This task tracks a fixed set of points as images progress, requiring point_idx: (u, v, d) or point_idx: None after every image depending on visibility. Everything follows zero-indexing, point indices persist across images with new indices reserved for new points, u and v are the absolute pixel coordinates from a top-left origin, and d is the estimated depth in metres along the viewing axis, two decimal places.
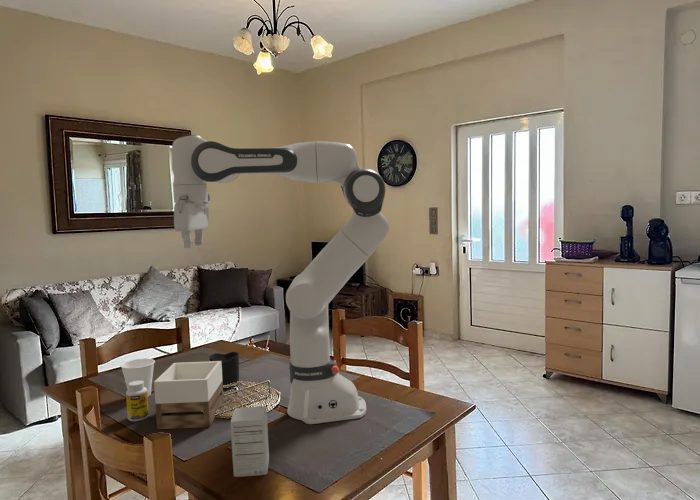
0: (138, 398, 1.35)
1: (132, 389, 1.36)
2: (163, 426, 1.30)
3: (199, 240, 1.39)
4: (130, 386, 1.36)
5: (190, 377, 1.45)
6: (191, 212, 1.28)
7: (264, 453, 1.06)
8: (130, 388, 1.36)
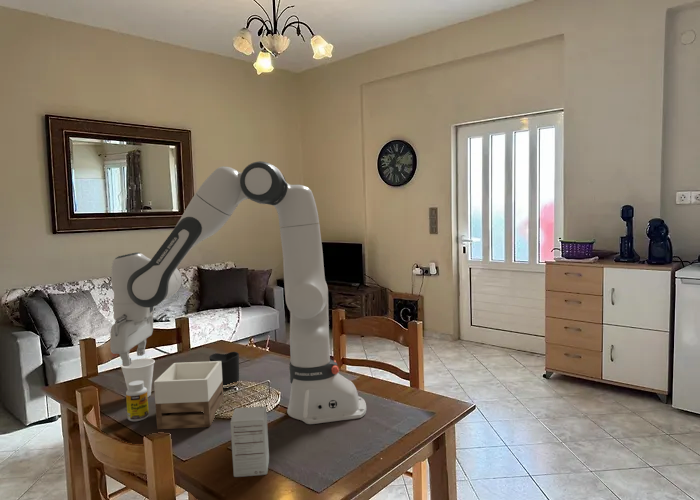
0: (138, 398, 1.35)
1: (132, 389, 1.36)
2: (163, 426, 1.30)
3: (141, 350, 1.41)
4: (130, 386, 1.36)
5: (190, 377, 1.45)
6: (129, 332, 1.30)
7: (264, 453, 1.06)
8: (130, 388, 1.36)
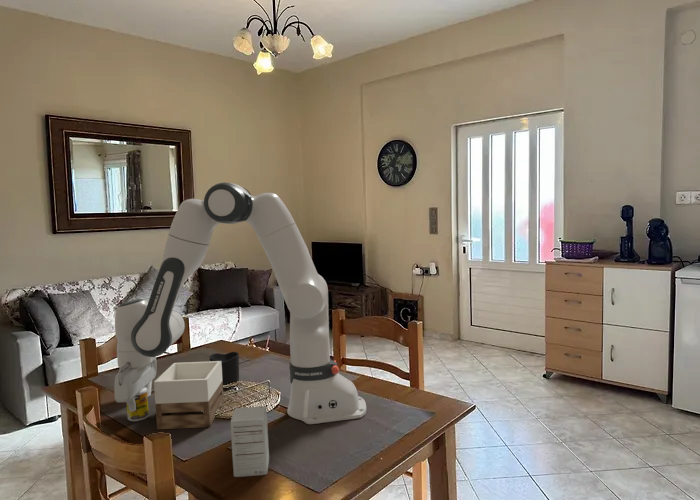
0: (138, 398, 1.35)
1: None
2: (163, 426, 1.30)
3: None
4: None
5: (190, 377, 1.45)
6: (132, 379, 1.31)
7: (264, 453, 1.06)
8: None
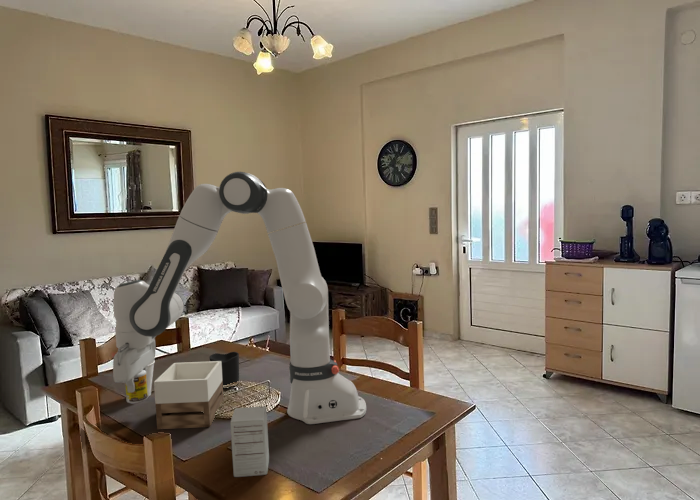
0: (137, 380, 1.35)
1: None
2: (163, 426, 1.30)
3: None
4: None
5: (190, 377, 1.45)
6: (131, 360, 1.31)
7: (264, 453, 1.06)
8: None
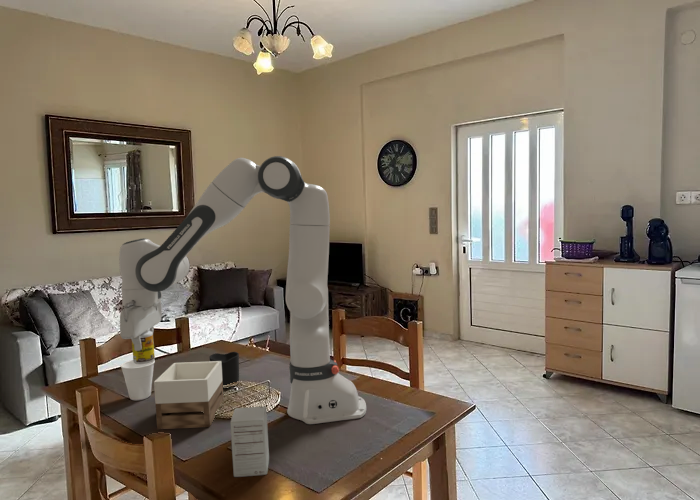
0: (144, 341, 1.34)
1: None
2: (163, 426, 1.30)
3: None
4: None
5: (190, 377, 1.45)
6: (138, 317, 1.30)
7: (264, 453, 1.06)
8: None
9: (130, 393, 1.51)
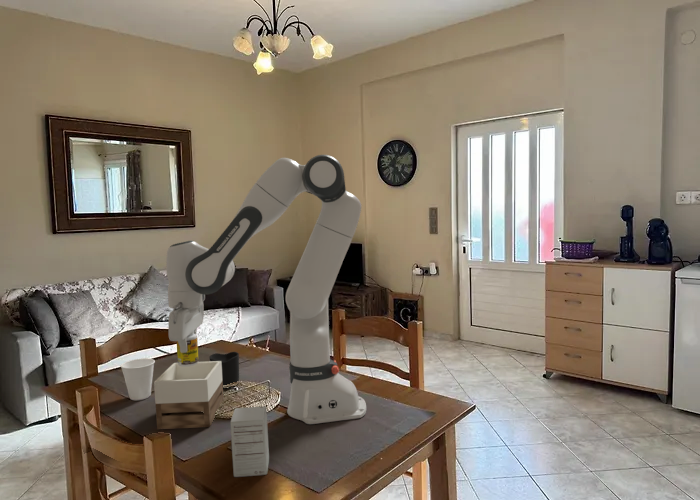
0: (189, 343, 1.34)
1: None
2: (163, 426, 1.30)
3: None
4: None
5: (190, 377, 1.45)
6: (185, 319, 1.30)
7: (264, 453, 1.06)
8: None
9: (130, 393, 1.51)
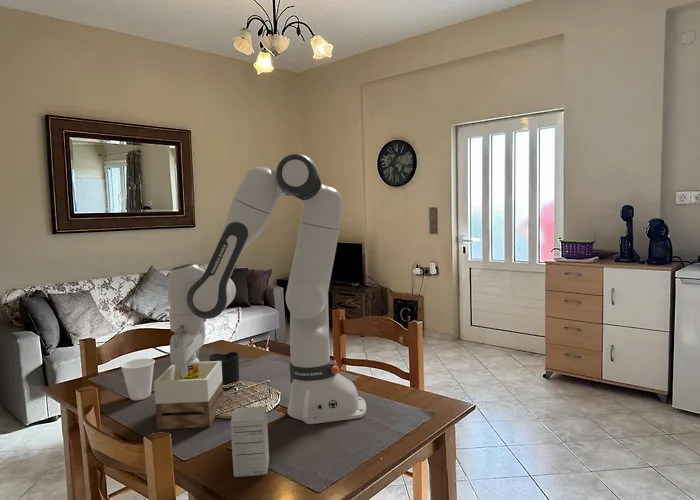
0: (191, 368, 1.35)
1: None
2: (163, 426, 1.30)
3: None
4: None
5: None
6: (186, 343, 1.31)
7: (264, 453, 1.06)
8: None
9: (130, 393, 1.51)
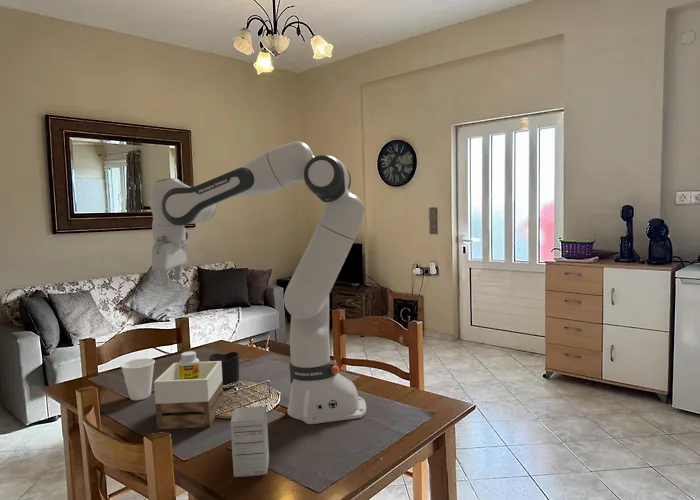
0: (191, 368, 1.35)
1: (185, 359, 1.35)
2: (163, 426, 1.30)
3: (178, 275, 1.47)
4: (183, 356, 1.35)
5: None
6: (168, 252, 1.37)
7: (264, 453, 1.06)
8: (183, 358, 1.35)
9: (130, 393, 1.51)
